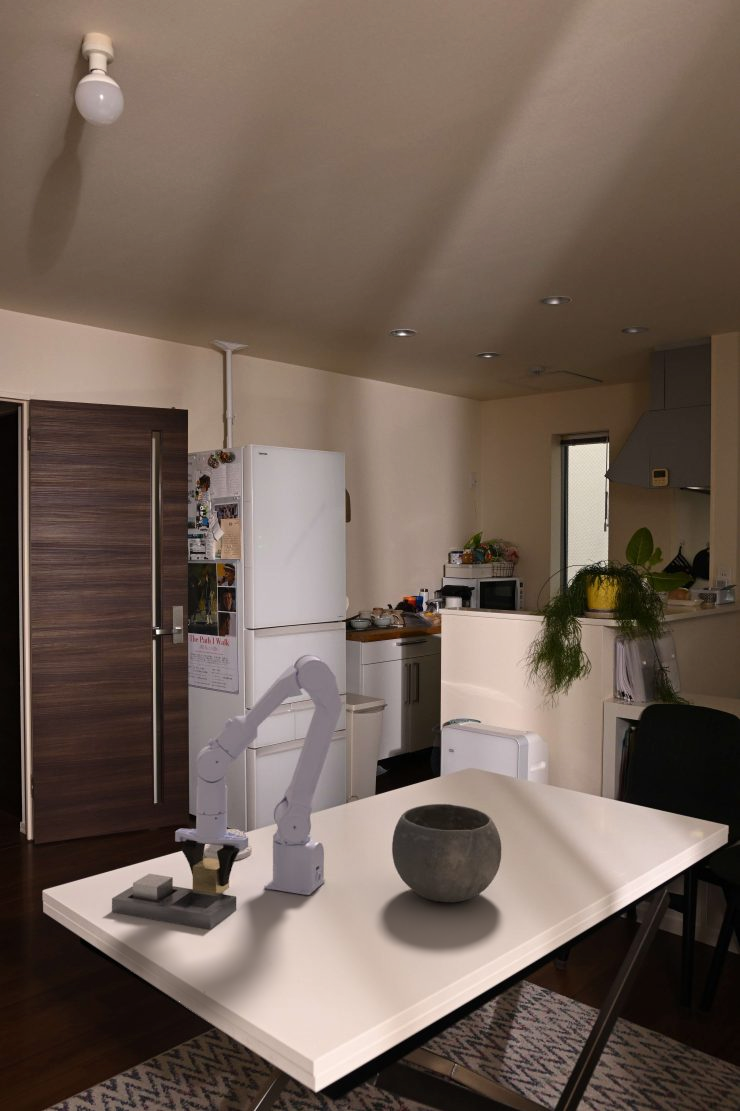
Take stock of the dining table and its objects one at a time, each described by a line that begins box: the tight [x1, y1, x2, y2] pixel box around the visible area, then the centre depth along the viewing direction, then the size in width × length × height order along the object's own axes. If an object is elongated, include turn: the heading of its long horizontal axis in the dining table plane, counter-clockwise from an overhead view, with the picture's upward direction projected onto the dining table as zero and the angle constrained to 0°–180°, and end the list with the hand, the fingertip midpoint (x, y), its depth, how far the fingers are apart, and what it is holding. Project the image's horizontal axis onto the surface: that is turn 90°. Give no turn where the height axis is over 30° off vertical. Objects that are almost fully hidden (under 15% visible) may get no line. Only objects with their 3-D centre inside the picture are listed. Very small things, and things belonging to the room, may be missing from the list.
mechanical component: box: [203, 828, 253, 861], centre depth 192 cm, size 10×4×10 cm
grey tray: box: [111, 885, 237, 930], centre depth 161 cm, size 20×9×2 cm, turn 70°
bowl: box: [391, 803, 502, 903], centre depth 169 cm, size 20×20×15 cm
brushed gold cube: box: [192, 857, 230, 894], centre depth 171 cm, size 5×5×5 cm
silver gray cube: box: [132, 873, 174, 903], centre depth 163 cm, size 5×5×5 cm
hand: (211, 882), depth 171 cm, fingers closed on brushed gold cube, 5 cm apart
